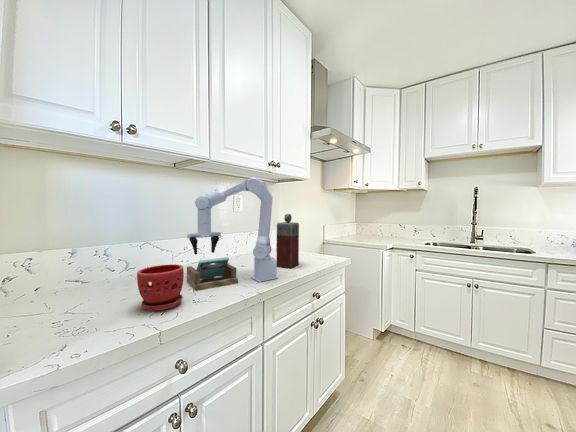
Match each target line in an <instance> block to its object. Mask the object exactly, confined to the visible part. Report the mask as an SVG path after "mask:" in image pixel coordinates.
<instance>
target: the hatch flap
mask: <svg viewBox="0 0 576 432" xmlns="http://www.w3.org/2000/svg"><path fill="white" fill-rule="evenodd" d="M229 261H230V258H229V257H227V256H226V257H219V258H212V259H210V258H209V259H202V260H198V263H197V266H196V268H195V269H196V270H197V271H198V272H199V273H200V280H202V279H204V278H211V277H214V278H216V277H222V275H223V273H224V270H225V268H226V267H227V266H228V264H229Z"/></svg>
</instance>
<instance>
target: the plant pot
mask: <svg viewBox="0 0 576 432" xmlns="http://www.w3.org/2000/svg"><path fill="white" fill-rule="evenodd" d="M184 273H185V272H184V266H183V265H181V264H174V263H173V264H160V265H159V264H158V265H154V266H148V267H144V268H142V269H139V270H138V271H137V273H136V282H137V283H136V284H137V287H138V288H137V289H138V292H139V295H140V297H141V298H142V301H141V302H140V303H141V306H142V308H143V309H144V310H147V311H155V312H157V311H163V310H167V309H171V308H174V307H175V306H177V305H179V304H180V303H181V301H182V300H183V295H182V293H181V292H182V291H183V290H182V289H183V285H184V275H185V274H184ZM149 283H151V284H149Z"/></svg>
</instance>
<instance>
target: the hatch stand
mask: <svg viewBox="0 0 576 432" xmlns="http://www.w3.org/2000/svg"><path fill="white" fill-rule="evenodd" d="M196 269H197V268H195V267H193V266H191V265H190V266H186V282H187V283H188V284H189V285H190V286H191V287H192V288H193V289H194V291H201V290H207V289H214V288H220V287H224V286H229V285H235V284H238V283H239V278H238V277H237V267H235V266H234V265H232V264H230V263H228V266H227V267H226V268H225V270H224V273H223V275H222V276H221V277H222V278H224V279H220V280H213V281H207V282H201V279H200V273H199V272H198V271H197V270H196Z"/></svg>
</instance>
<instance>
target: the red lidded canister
mask: <svg viewBox="0 0 576 432" xmlns="http://www.w3.org/2000/svg"><path fill="white" fill-rule="evenodd" d="M283 217H284V222H277V223H276V246H275V247H276V249H275V250H276V264H277V268H281V269H288V268H289V269H290V270H292V269H294V268H297V267H298V265H299V262H300V260H299V258H300V257H299V254H300V252H299V249H300V248H299V247H300V245H299V244H300V243H299V242H300V239H299V238H300V224H299V222H293V221H292V217H293V216H292V215H291V213H285V215H284V216H283ZM291 221H292V222H291ZM296 266H297V267H296ZM289 269H288V270H289Z"/></svg>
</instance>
